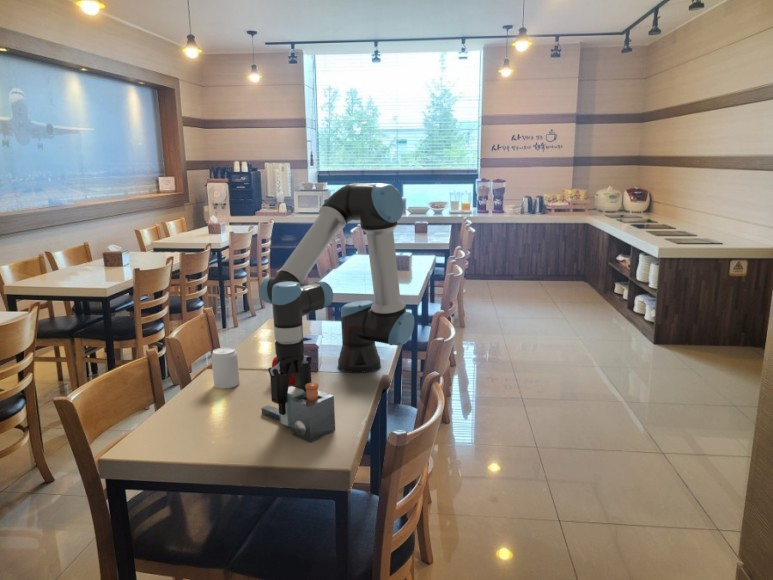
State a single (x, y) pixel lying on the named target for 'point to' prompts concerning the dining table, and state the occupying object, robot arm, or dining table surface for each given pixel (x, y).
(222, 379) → the beverage can
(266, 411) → the rail
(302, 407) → the grey box
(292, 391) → the block
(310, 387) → the plunger
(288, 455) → the dining table surface
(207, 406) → the dining table surface
